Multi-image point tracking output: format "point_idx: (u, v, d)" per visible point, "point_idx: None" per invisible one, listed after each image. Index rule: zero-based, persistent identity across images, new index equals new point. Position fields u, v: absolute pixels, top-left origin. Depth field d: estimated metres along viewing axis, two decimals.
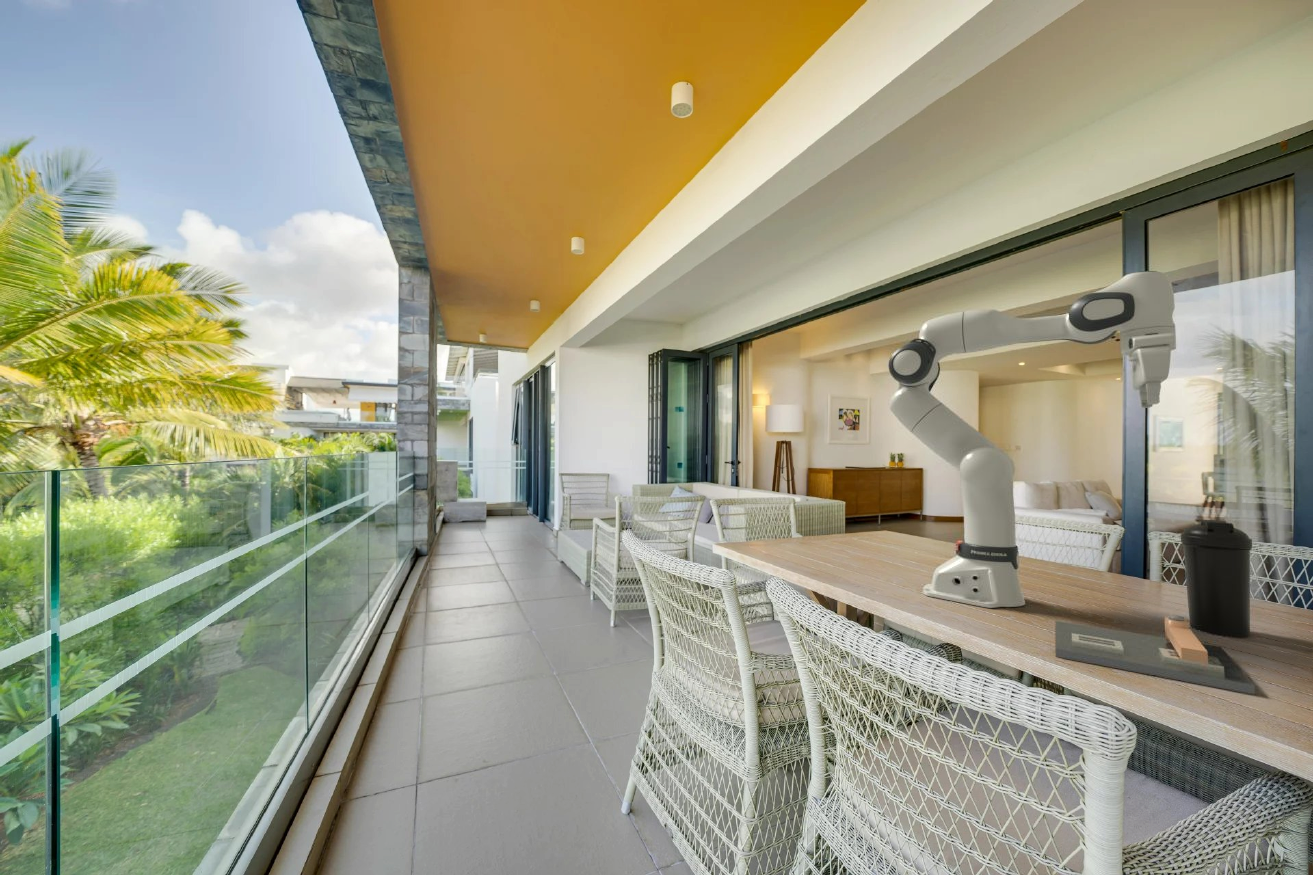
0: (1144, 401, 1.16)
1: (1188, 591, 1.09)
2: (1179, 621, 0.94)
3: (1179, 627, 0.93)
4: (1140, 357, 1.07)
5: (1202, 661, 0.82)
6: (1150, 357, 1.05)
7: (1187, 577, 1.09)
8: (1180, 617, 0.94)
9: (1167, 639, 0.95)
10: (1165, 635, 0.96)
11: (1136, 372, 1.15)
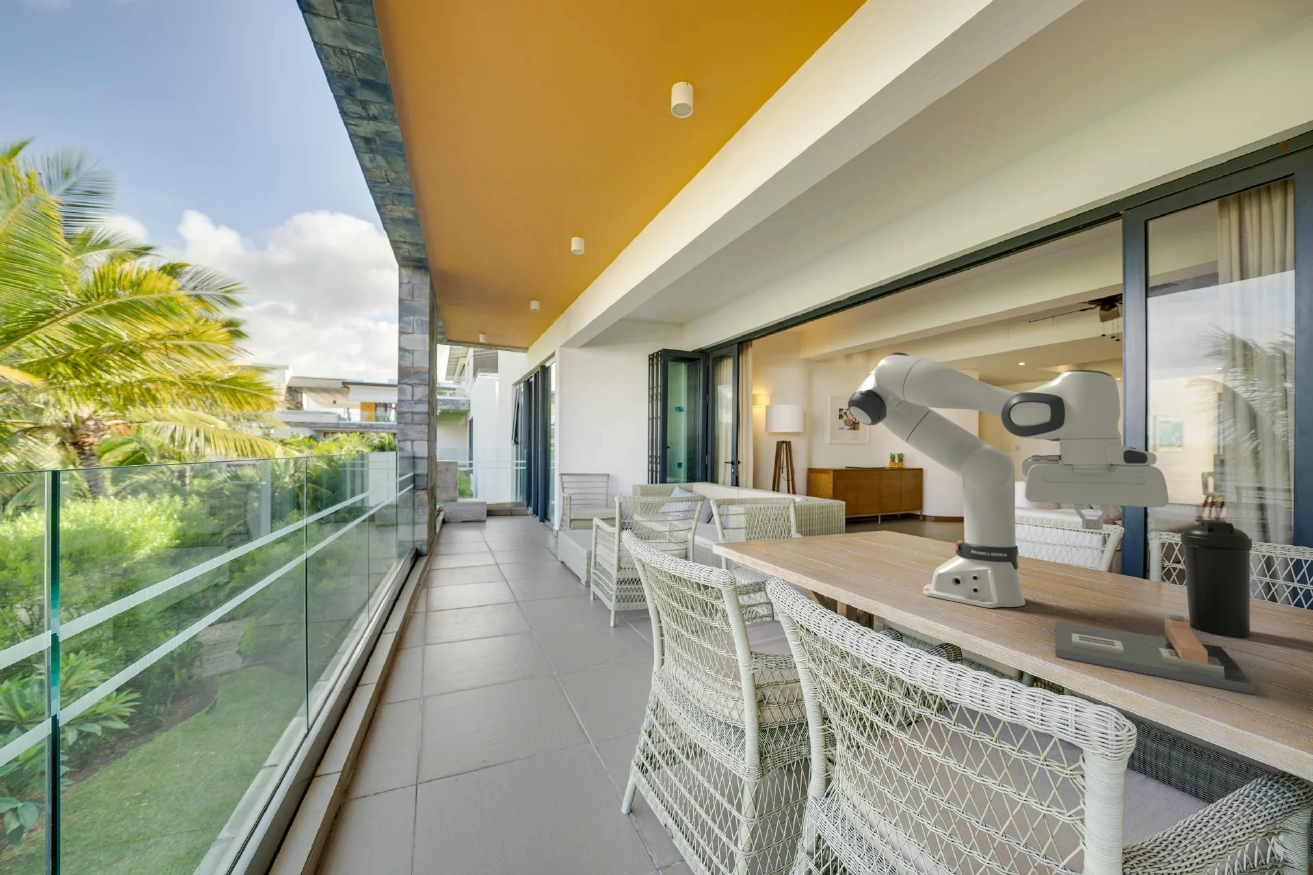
0: None
1: (1188, 591, 1.09)
2: (1179, 621, 0.94)
3: (1179, 627, 0.93)
4: (1163, 478, 0.87)
5: (1202, 661, 0.82)
6: None
7: (1187, 577, 1.09)
8: (1180, 617, 0.94)
9: (1167, 639, 0.95)
10: (1165, 635, 0.96)
11: (1077, 486, 0.94)
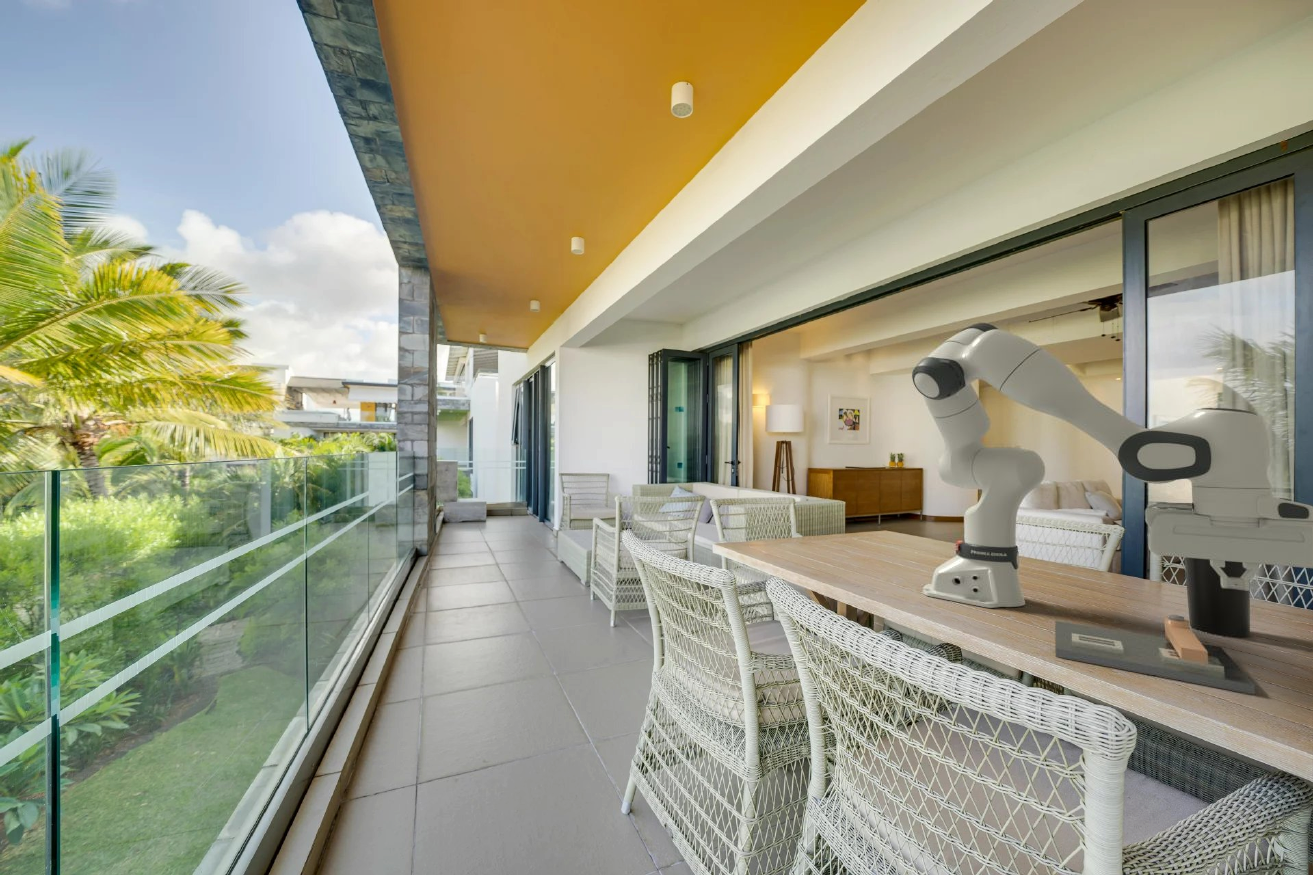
0: None
1: (1188, 591, 1.09)
2: (1179, 621, 0.94)
3: (1179, 627, 0.93)
4: None
5: (1202, 661, 0.82)
6: None
7: (1187, 577, 1.09)
8: (1180, 617, 0.94)
9: (1167, 639, 0.95)
10: (1165, 635, 0.96)
11: (1216, 540, 0.84)
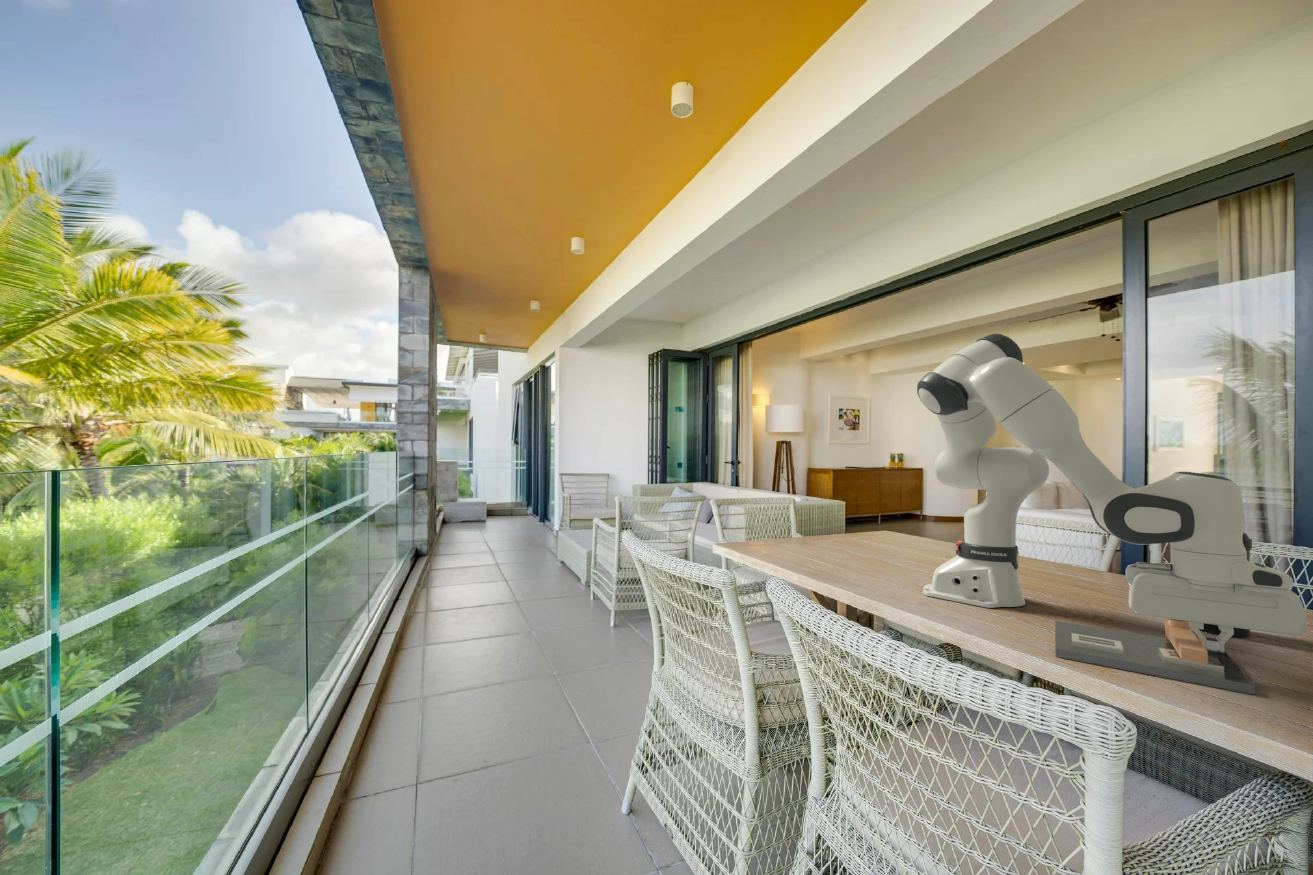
0: None
1: None
2: (1179, 621, 0.94)
3: (1179, 627, 0.93)
4: (1300, 605, 0.78)
5: (1202, 661, 0.82)
6: None
7: None
8: None
9: (1167, 639, 0.95)
10: (1165, 635, 0.96)
11: (1194, 602, 0.85)
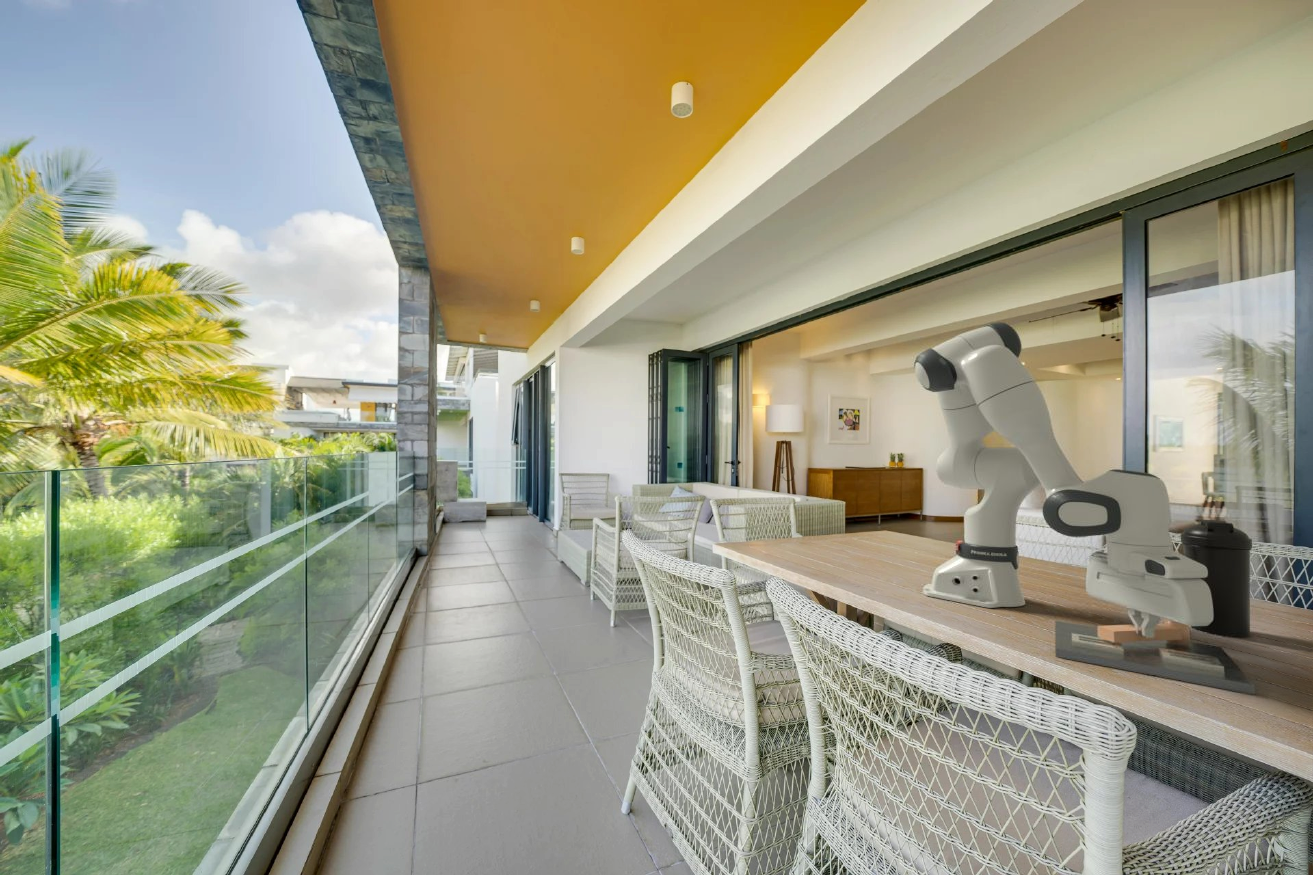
0: (1144, 629, 0.91)
1: None
2: None
3: (1169, 625, 0.94)
4: (1184, 595, 0.82)
5: (1110, 639, 0.92)
6: (1195, 596, 0.82)
7: None
8: None
9: None
10: None
11: (1121, 588, 0.94)
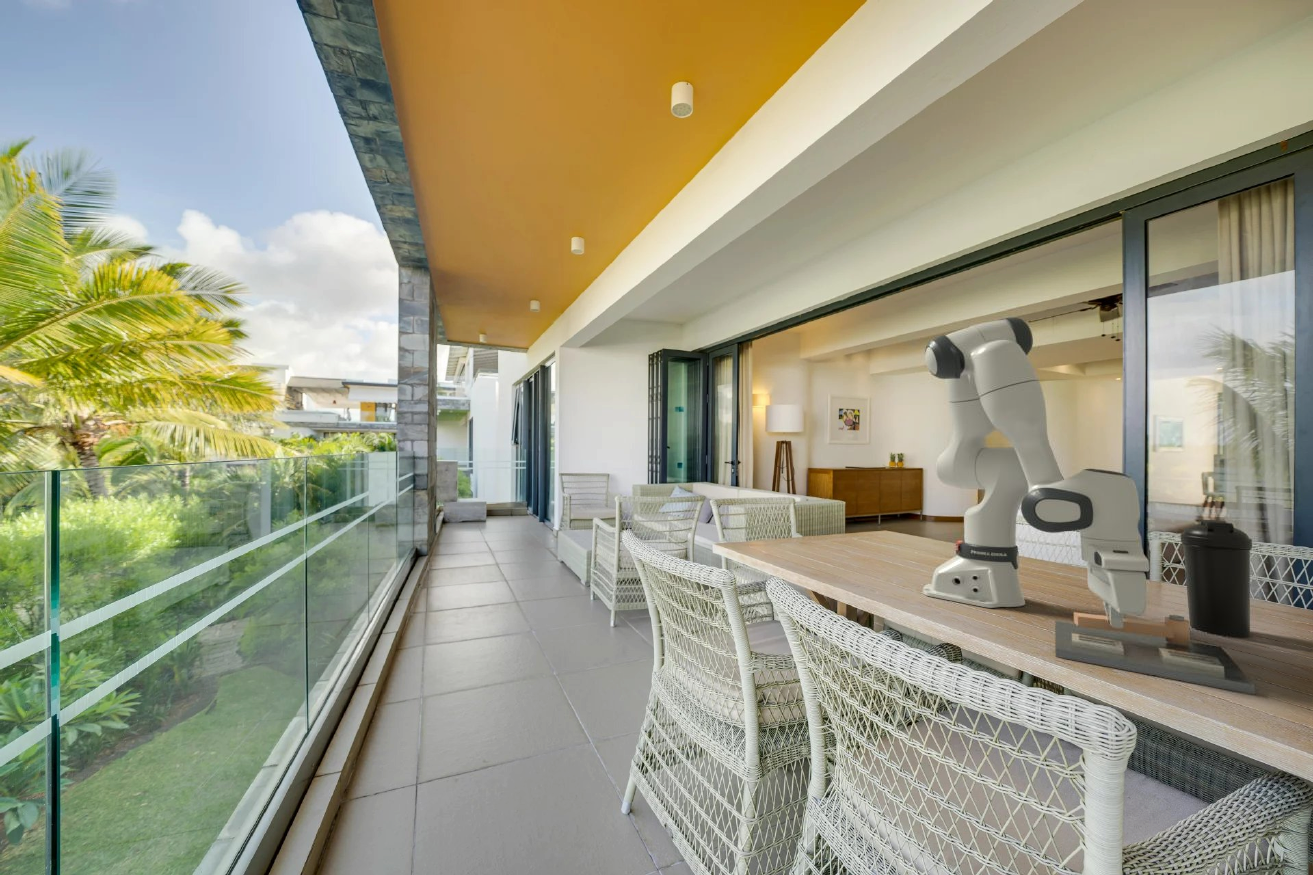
0: None
1: (1188, 591, 1.09)
2: (1168, 619, 0.95)
3: (1165, 623, 0.95)
4: (1112, 584, 0.90)
5: (1077, 624, 1.01)
6: (1124, 586, 0.89)
7: (1187, 577, 1.09)
8: (1175, 617, 0.95)
9: None
10: None
11: (1097, 580, 1.00)
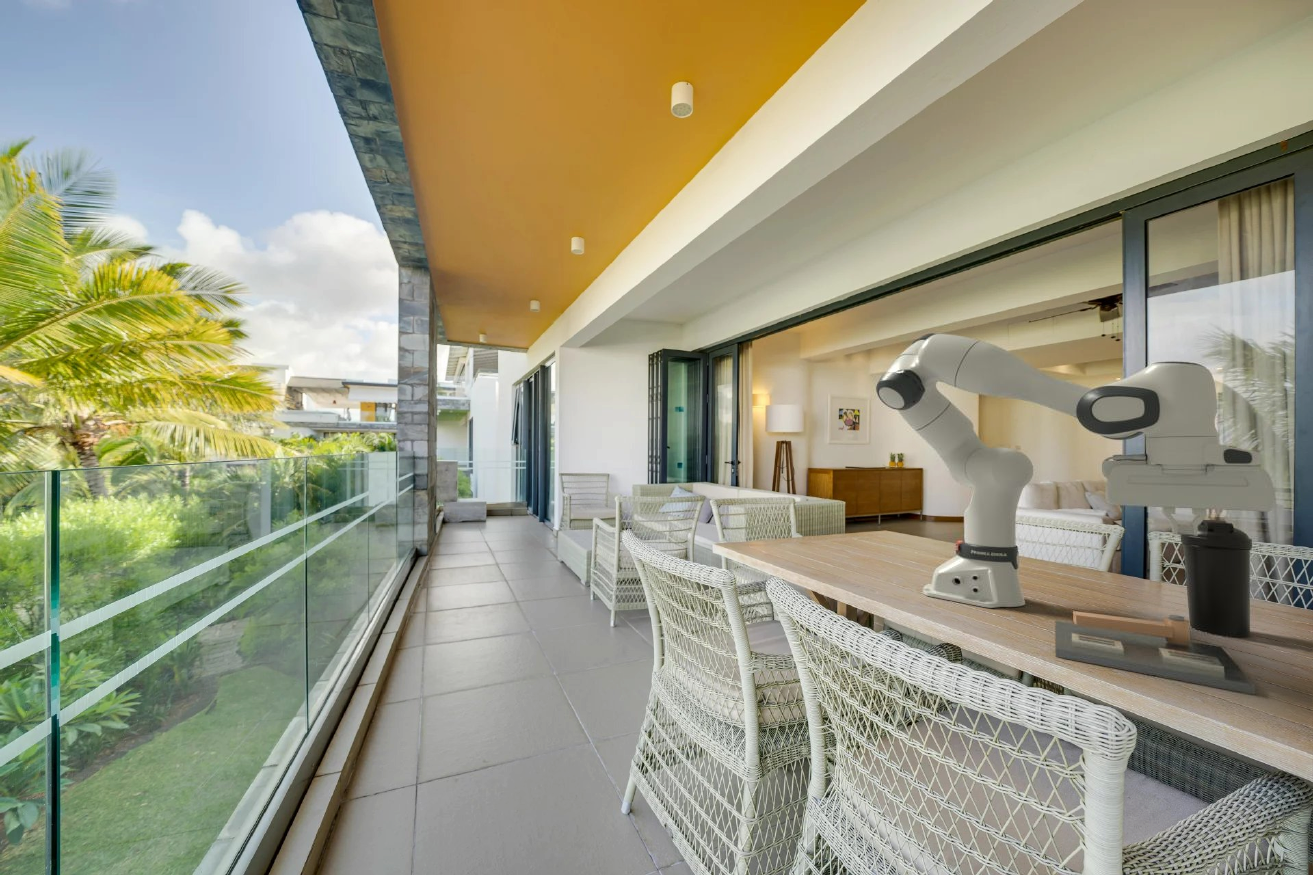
0: None
1: (1188, 591, 1.09)
2: (1168, 618, 0.95)
3: (1164, 623, 0.96)
4: (1270, 480, 0.80)
5: (1075, 622, 1.02)
6: None
7: (1187, 577, 1.09)
8: (1175, 617, 0.95)
9: None
10: None
11: (1168, 488, 0.87)
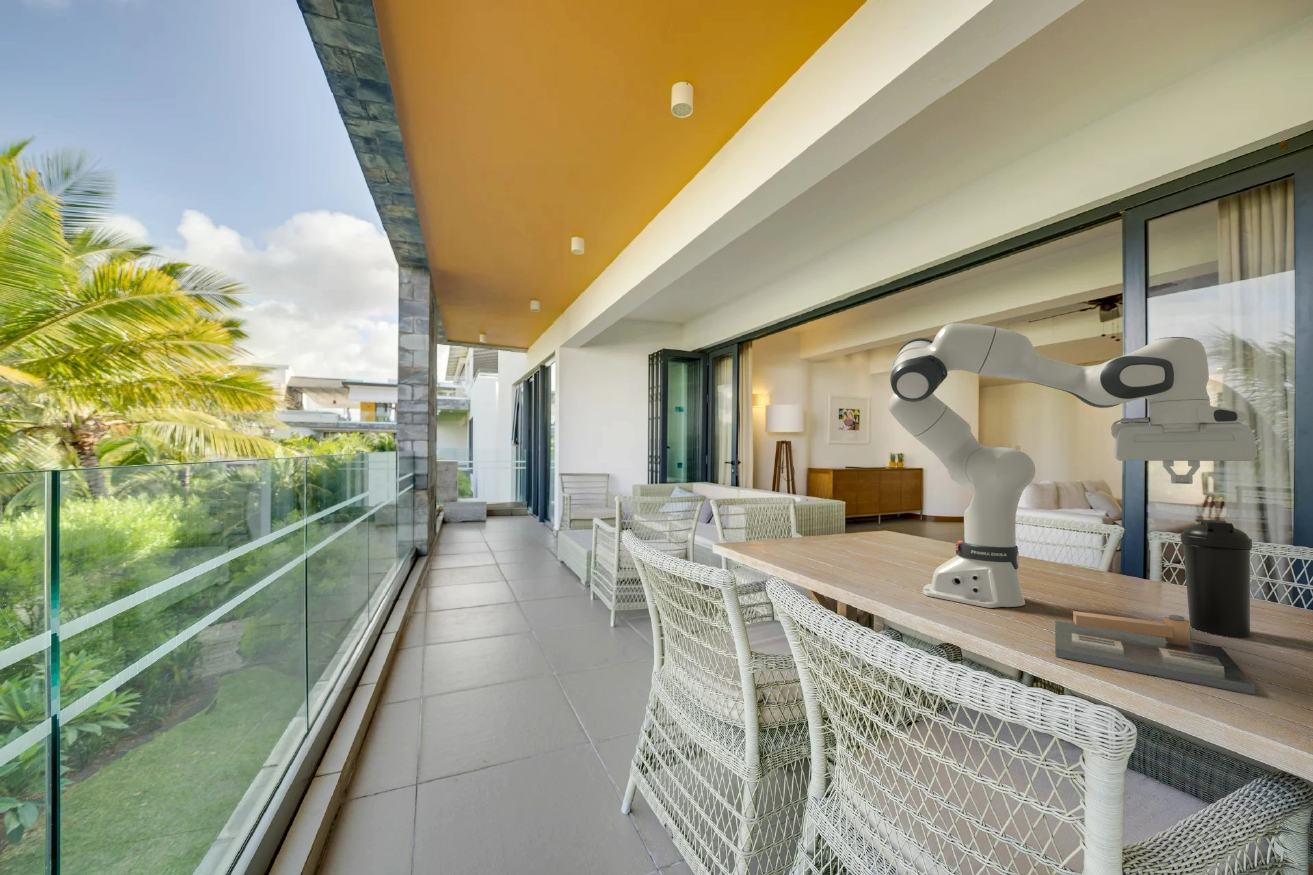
0: None
1: (1188, 591, 1.09)
2: (1168, 618, 0.95)
3: (1164, 623, 0.96)
4: (1252, 434, 0.96)
5: (1075, 622, 1.02)
6: None
7: (1187, 577, 1.09)
8: (1175, 617, 0.95)
9: None
10: None
11: (1167, 444, 1.03)
